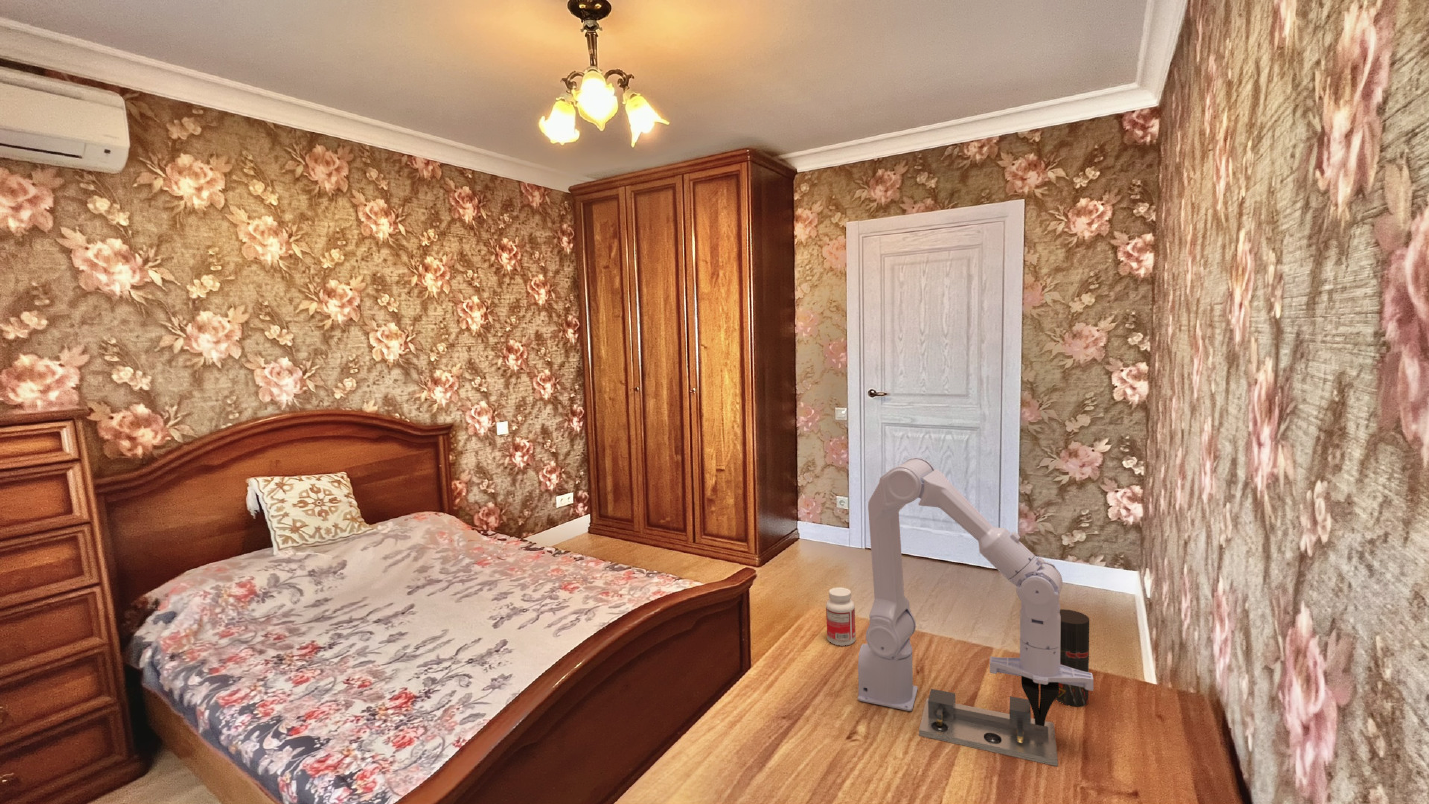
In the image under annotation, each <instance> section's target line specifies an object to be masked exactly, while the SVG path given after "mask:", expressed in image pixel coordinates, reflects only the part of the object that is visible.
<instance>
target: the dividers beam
mask: <svg viewBox="0 0 1429 804" xmlns="http://www.w3.org/2000/svg"><path fill="white" fill-rule="evenodd" d="M928 698H929V699H928V718H933V719H937V725H939V726H942V721H947V722H952V723H954V719H957V720H962V721H967V722H972V723H976V724H981V725H986V726H991V727H996V728H1001V729H1005V730H1010V731H1015V732H1017V728H1012V727H1010V719H1007V718H1002V717H997V716H992V715H987V714H982V713H977V712H972V711H967V710H962V709H957V708H956V704H957V703H956V692H951V691H945V690H941V689H936V688H935V689H934V688H930V692H929V696H928ZM1023 733H1025V734H1030V735H1034V736H1039V737H1044V738H1048V727H1047V726H1040V725H1036V724H1032V723H1031V731H1027V730H1023Z"/></svg>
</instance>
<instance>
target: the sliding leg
mask: <svg viewBox="0 0 1429 804" xmlns="http://www.w3.org/2000/svg"><path fill="white" fill-rule="evenodd" d="M1031 710H1032V709H1031V705H1030V702H1029V700H1028V698H1027V699H1026V698H1021V697H1016V696H1009V714H1010V727H1012V728H1017V742H1019V743H1023V730H1027V731H1031V718H1032V717H1031V714H1032V713H1031V712H1032V711H1031Z"/></svg>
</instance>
